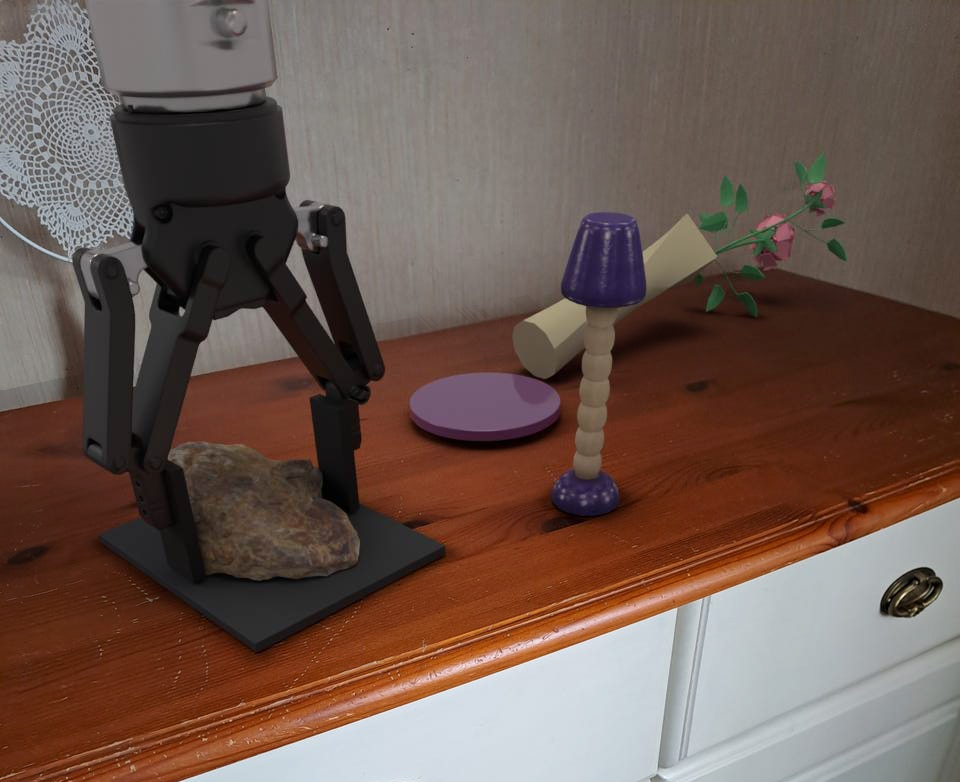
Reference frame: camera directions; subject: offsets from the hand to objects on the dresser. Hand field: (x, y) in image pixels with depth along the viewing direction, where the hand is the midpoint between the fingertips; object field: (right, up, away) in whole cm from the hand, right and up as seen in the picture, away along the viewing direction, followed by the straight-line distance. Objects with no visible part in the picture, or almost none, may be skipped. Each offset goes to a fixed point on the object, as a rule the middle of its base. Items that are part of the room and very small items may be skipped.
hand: (268, 535), depth 56 cm
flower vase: (+29, +21, +30) cm, 47 cm away
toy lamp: (+19, +2, +4) cm, 20 cm away
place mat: (0, -1, 0) cm, 1 cm away
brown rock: (0, 0, 0) cm, 1 cm away
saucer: (+13, +10, +15) cm, 22 cm away
